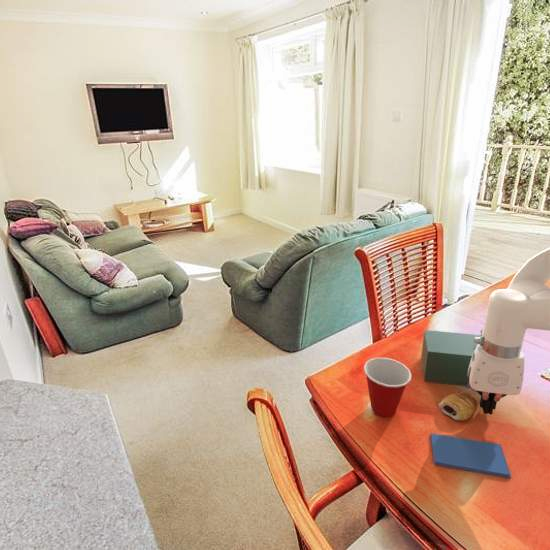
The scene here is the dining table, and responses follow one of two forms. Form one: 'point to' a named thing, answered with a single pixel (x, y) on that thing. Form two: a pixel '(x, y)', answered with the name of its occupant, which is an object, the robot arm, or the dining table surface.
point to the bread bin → (444, 368)
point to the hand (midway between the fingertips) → (486, 409)
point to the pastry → (458, 405)
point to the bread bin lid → (450, 343)
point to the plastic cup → (386, 384)
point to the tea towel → (469, 455)
